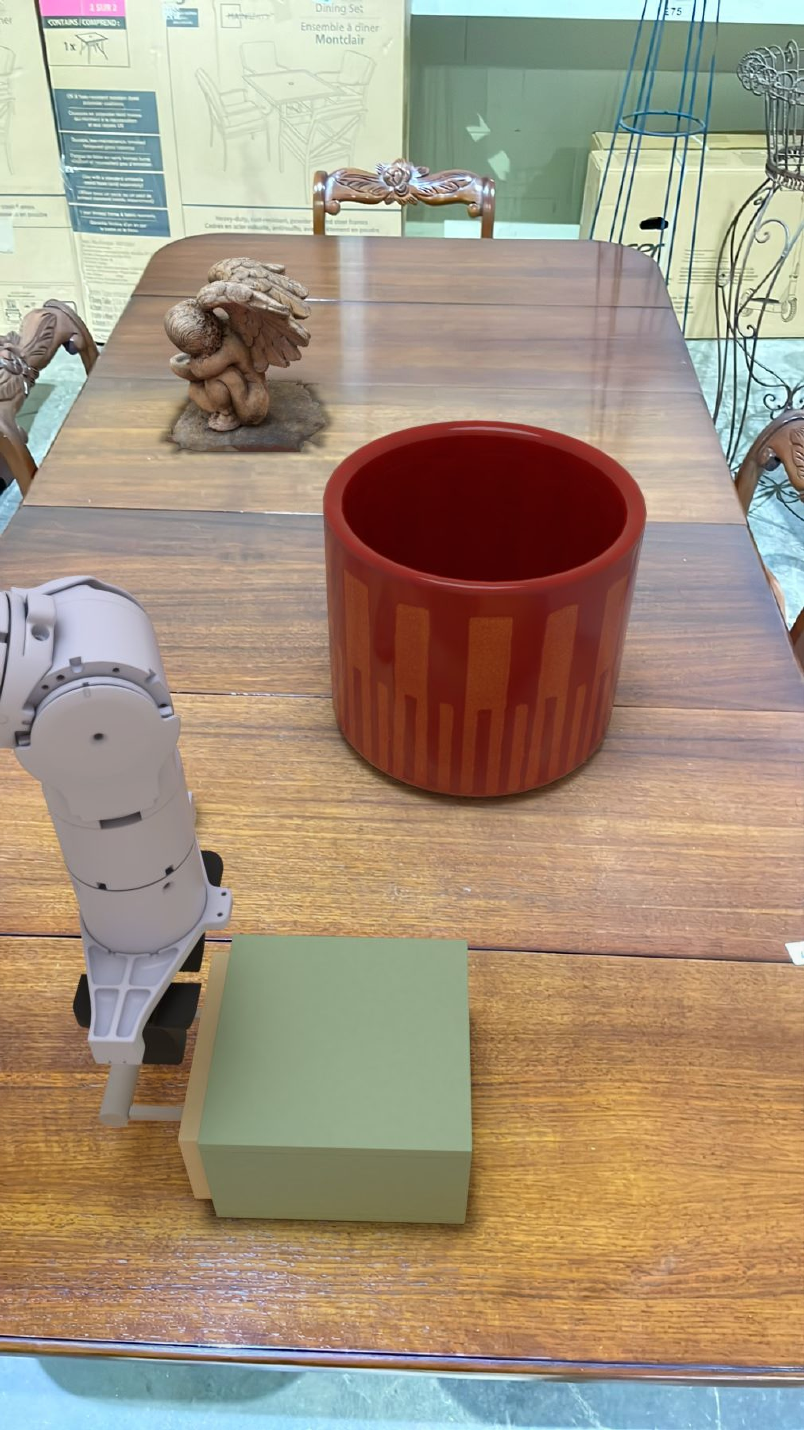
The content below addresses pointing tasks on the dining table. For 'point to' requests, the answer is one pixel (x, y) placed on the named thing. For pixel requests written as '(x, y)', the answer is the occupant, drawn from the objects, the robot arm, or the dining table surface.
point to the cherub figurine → (242, 361)
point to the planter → (478, 602)
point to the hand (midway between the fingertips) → (172, 1011)
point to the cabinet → (341, 1081)
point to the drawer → (126, 1076)
